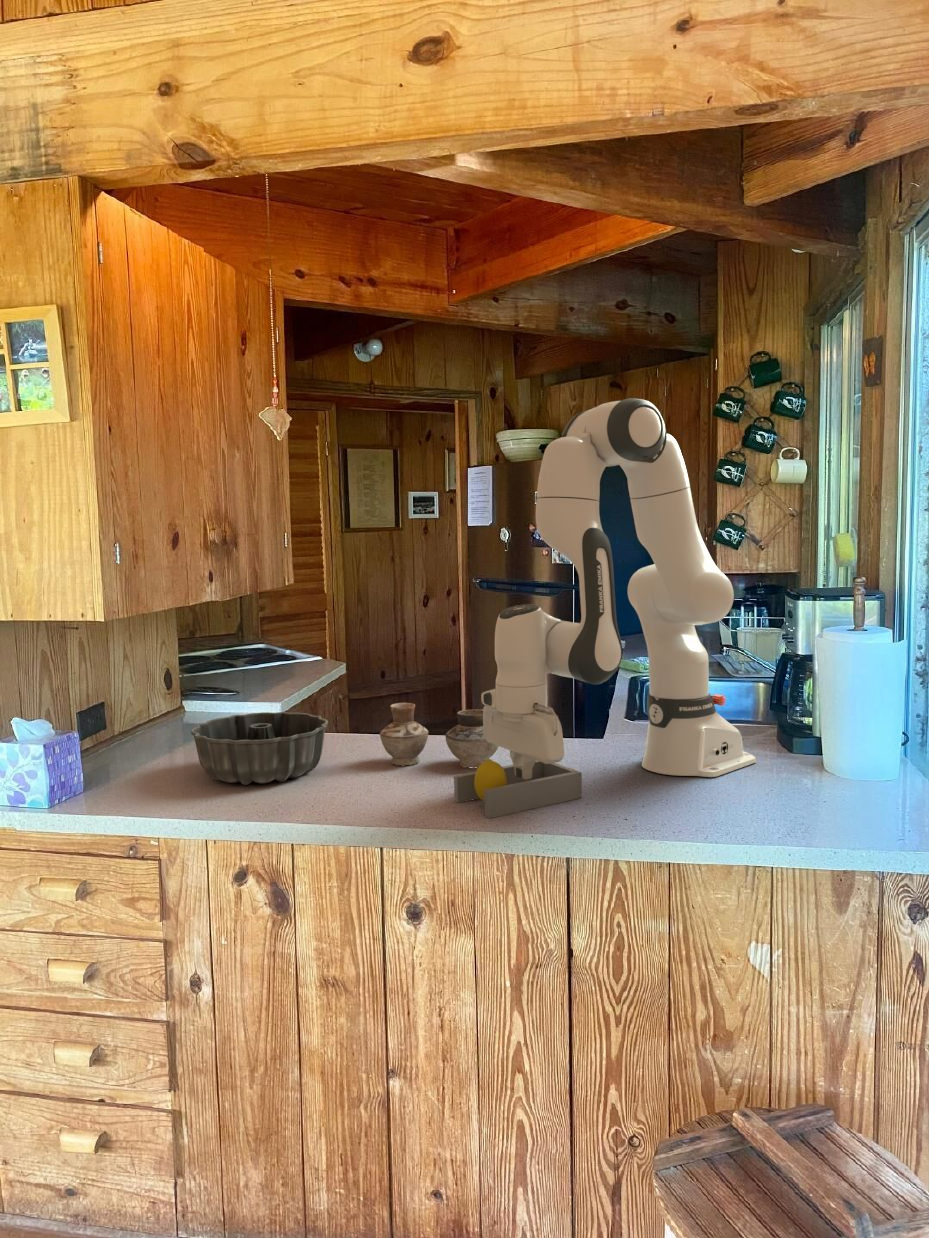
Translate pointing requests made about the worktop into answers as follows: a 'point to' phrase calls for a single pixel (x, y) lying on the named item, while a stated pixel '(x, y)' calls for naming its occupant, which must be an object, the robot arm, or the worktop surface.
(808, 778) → the worktop surface
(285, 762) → the bundt pan
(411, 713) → the pottery
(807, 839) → the worktop surface
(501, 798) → the trough
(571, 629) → the robot arm
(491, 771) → the lemon
